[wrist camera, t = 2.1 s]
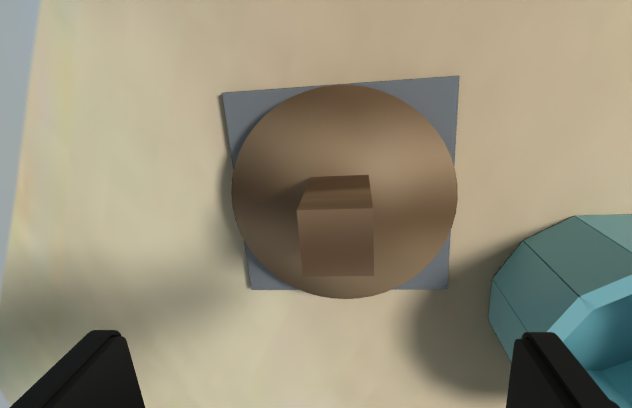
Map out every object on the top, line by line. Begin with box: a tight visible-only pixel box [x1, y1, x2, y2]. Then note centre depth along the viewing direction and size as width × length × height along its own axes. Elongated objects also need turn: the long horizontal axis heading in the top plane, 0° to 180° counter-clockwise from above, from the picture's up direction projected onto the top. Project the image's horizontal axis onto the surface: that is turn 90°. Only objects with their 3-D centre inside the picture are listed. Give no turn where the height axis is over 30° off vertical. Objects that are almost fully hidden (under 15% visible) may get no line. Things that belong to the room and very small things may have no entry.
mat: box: [222, 76, 459, 290], centre depth 20 cm, size 12×12×1 cm
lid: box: [232, 85, 457, 299], centre depth 17 cm, size 12×12×6 cm
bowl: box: [488, 214, 632, 408], centre depth 19 cm, size 11×11×6 cm
